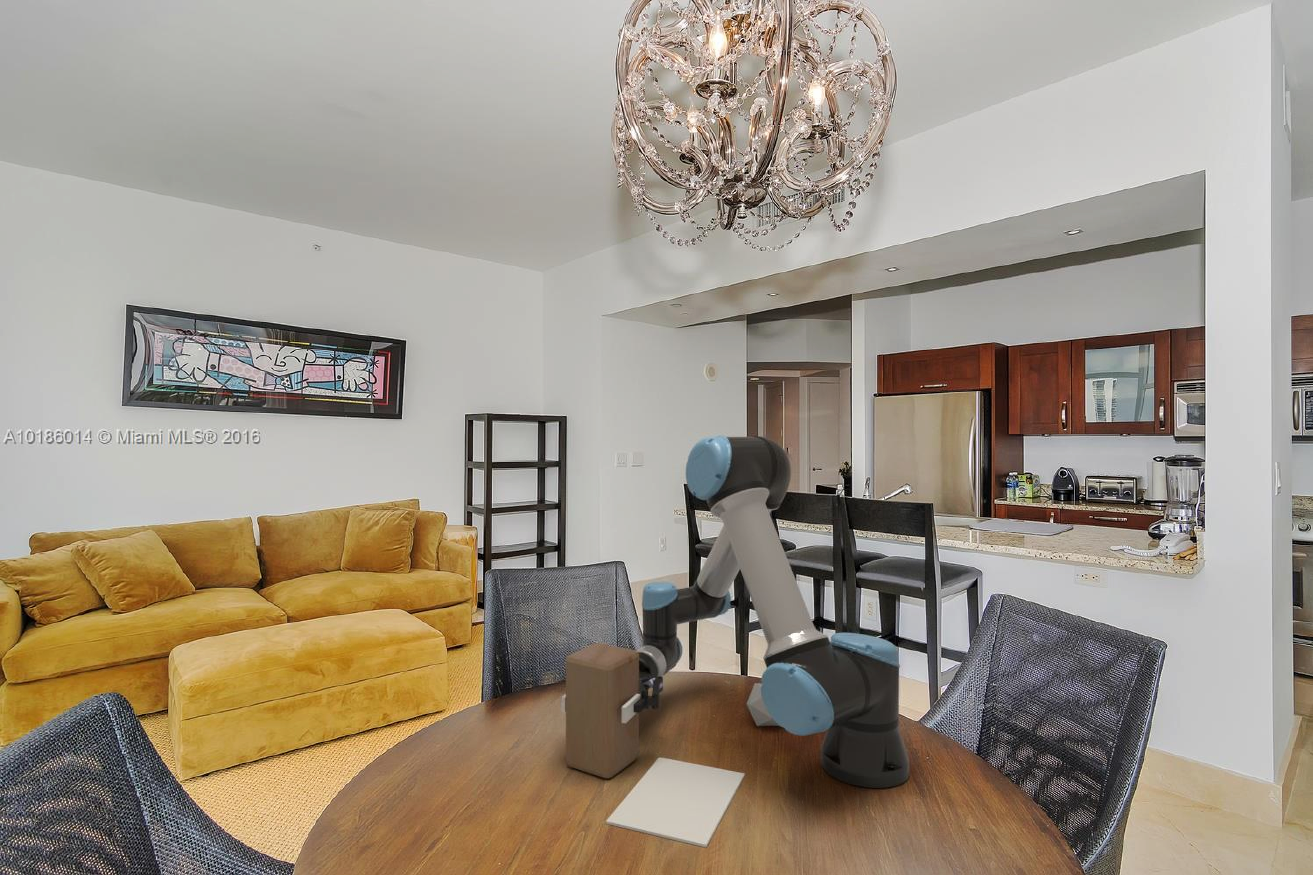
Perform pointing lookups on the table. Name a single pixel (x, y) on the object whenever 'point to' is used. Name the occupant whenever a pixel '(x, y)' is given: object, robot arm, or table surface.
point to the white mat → (678, 801)
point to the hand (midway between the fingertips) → (592, 709)
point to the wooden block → (601, 709)
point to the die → (759, 708)
